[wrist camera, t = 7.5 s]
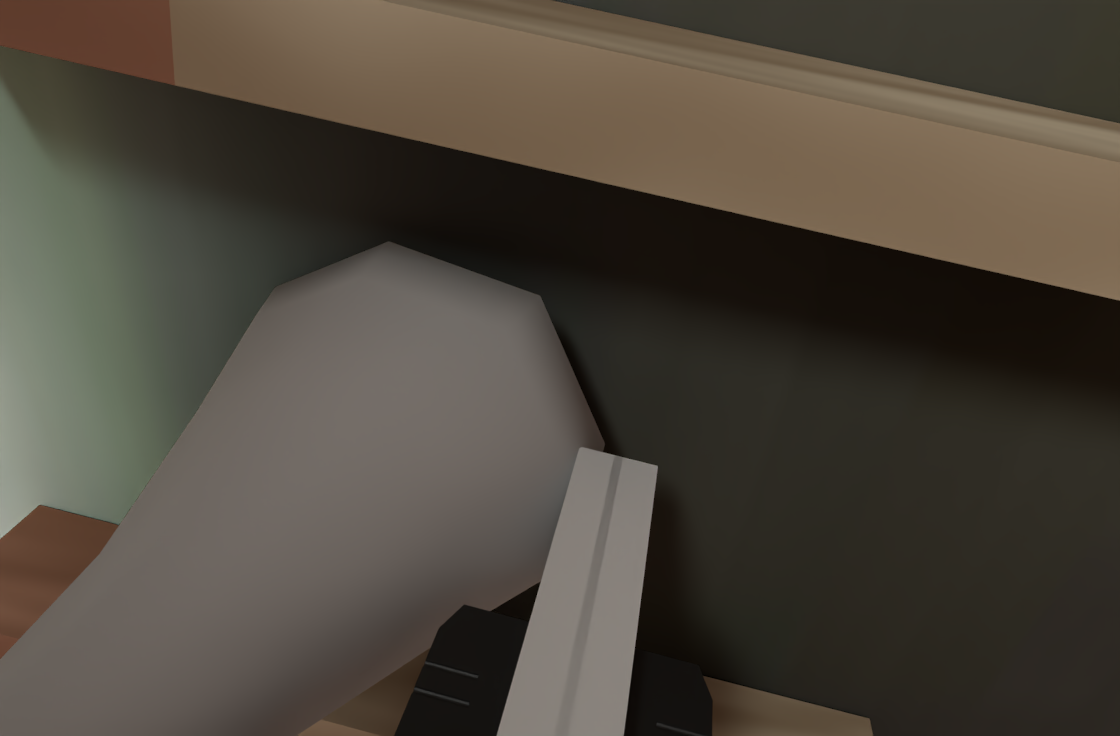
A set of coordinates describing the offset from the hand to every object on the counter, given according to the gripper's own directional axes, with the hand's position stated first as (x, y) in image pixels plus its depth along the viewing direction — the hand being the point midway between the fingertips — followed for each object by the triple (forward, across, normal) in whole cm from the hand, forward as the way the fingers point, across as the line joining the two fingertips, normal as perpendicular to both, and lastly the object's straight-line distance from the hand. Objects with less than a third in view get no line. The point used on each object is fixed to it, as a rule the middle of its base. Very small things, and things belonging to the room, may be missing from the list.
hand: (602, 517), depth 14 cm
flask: (+2, -4, 0) cm, 4 cm away
